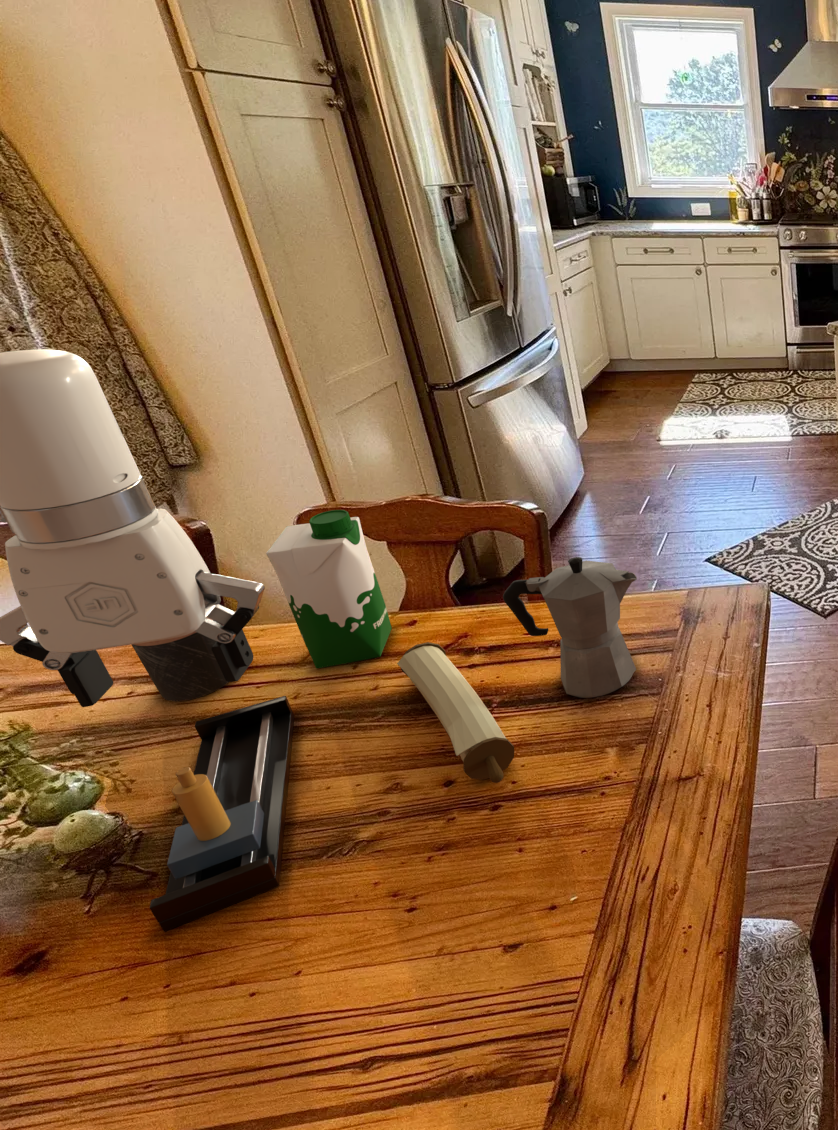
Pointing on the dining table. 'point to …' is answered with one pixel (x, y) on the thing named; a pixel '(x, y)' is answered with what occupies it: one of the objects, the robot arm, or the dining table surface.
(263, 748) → the rail
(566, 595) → the coffeepot
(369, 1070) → the dining table surface
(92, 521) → the robot arm
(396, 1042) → the dining table surface
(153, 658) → the travel mug
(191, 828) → the sliding carriage
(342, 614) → the milk carton
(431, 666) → the cream curved cylinder
